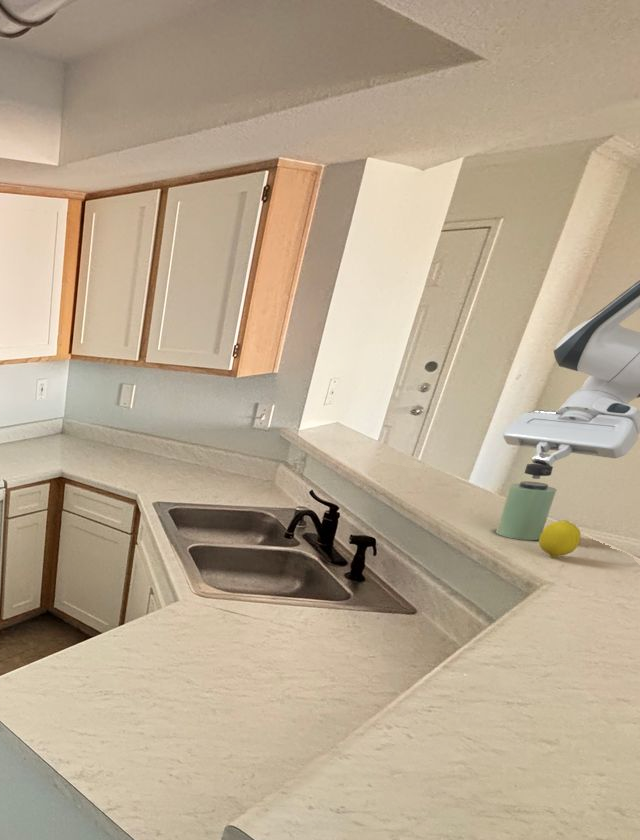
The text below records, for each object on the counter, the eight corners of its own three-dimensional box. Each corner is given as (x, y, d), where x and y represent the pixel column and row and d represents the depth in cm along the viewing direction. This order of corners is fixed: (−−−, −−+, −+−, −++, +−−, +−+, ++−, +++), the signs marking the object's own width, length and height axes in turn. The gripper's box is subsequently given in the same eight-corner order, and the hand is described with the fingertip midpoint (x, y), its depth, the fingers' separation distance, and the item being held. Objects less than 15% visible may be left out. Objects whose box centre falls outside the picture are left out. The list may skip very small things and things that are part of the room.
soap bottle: (532, 532, 134) (549, 481, 130) (546, 542, 128) (564, 488, 124) (490, 528, 137) (506, 478, 133) (502, 538, 131) (518, 486, 127)
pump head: (544, 477, 129) (548, 464, 128) (558, 484, 123) (562, 471, 122) (519, 475, 131) (523, 463, 130) (532, 482, 125) (536, 469, 124)
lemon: (579, 563, 116) (593, 525, 114) (544, 561, 118) (557, 523, 115) (561, 553, 121) (574, 517, 119) (527, 551, 123) (539, 515, 120)
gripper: (524, 400, 134) (481, 445, 135) (649, 409, 116) (598, 462, 116) (531, 418, 137) (489, 463, 138) (655, 430, 118) (606, 481, 119)
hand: (540, 462), depth 127 cm, fingers closed, pressing on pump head
